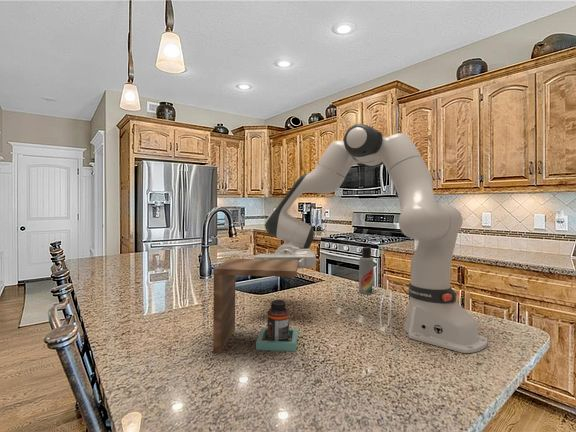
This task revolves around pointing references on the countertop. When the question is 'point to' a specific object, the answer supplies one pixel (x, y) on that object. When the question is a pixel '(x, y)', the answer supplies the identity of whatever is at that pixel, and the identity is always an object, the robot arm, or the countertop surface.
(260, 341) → the socket
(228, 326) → the wooden l-shaped bracket
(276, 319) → the supplement bottle
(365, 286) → the lotion bottle
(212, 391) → the countertop surface
